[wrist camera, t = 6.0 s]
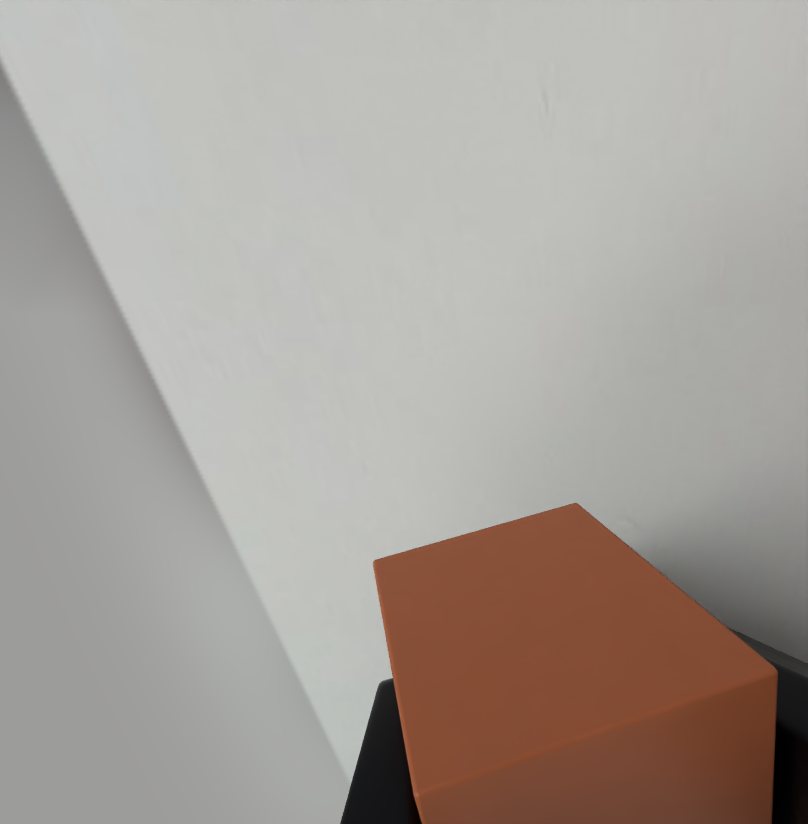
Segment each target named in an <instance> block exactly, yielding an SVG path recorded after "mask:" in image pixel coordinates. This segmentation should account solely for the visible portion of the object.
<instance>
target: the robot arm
mask: <svg viewBox="0 0 808 824" xmlns="http://www.w3.org/2000/svg"><path fill="white" fill-rule="evenodd" d="M762 657H763V656H762ZM763 658H764V659H766V660H767V661H768V662H769V663H770V664H772V665H773V666H774V667H775V668H776V670H777V672H778V688H777V712H776V737H775V761H774V786H773V810H772V824H808V677H807V676H805V675H803V674H801V673H798V672H796V671H794V670H792V669H789V668H787V667H785V666H783V665H781V664H778V663H776V662H774V661H772V660H769V659H767V658H765V657H763ZM340 824H422V822H421V819H420V815H419V812H418V808H417V805H416V801H415V798H414V794H413V788H412V783H411V777H410V771H409V766H408V760H407V754H406V749H405V743H404V737H403V732H402V726H401V720H400V715H399V709H398V703H397V698H396V692H395V686H394V680H393V678H391V679H388V680H385V681H382V682H381V683H380V684H379V686H378V689H377V692H376V696H375V700H374V703H373V707H372V711H371V714H370V718H369V721H368V725H367V729H366V732H365V736H364V740H363V743H362V747H361V751H360V754H359V758H358V761H357V765H356V769H355V772H354V776H353V780H352V783H351V787H350V791H349V794H348V798H347V802H346V805H345V809H344V812H343V816H342V820H341V823H340Z"/></svg>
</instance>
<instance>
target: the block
mask: <svg viewBox="0 0 808 824" xmlns="http://www.w3.org/2000/svg"><path fill="white" fill-rule="evenodd" d="M373 567H374V573H375V578H376V584H377V590H378V595H379V601H380V607H381V612H382V618H383V624H384V629H385V635H386V641H387V646H388V652H389V658H390V663H391V669H392V675H393V680H394V686H395V692H396V698H397V703H398V709H399V715H400V720H401V726H402V732H403V737H404V743H405V749H406V754H407V760H408V766H409V771H410V777H411V783H412V788H413V794H414V798H415V801H416V805H417V808H418V812H419V815H420V819H421V822H422V824H772V810H773V786H774V761H775V737H776V712H777V688H778V672H777V670H776V668H775V667H774V666H773V665H772V664H770V663H769V662H768V661H767V660H766V659H764V658H763V657H762V656H761V655H760V654H758V653H757V652H756V651H755V650H754V649H752V648H751V647H750V646H749V645H747V644H746V643H745V642H744V641H743V640H741V639H740V638H739V637H738V636H737V635H735V634H734V633H733V632H732V631H731V630H729V629H728V628H727V627H726V626H725V625H723V624H722V623H721V622H720V621H719V620H717V619H716V618H715V617H714V616H713V615H711V614H710V613H709V612H708V611H706V610H705V609H704V608H703V607H702V606H700V605H699V604H698V603H697V602H696V601H694V600H693V599H692V598H691V597H690V596H688V595H687V594H686V593H685V592H684V591H682V590H681V589H680V588H679V587H678V586H676V585H675V584H674V583H673V582H671V581H670V580H669V579H668V578H667V577H665V576H664V575H663V574H662V573H661V572H659V571H658V570H657V569H656V568H655V567H653V566H652V565H651V564H650V563H649V562H647V561H646V560H645V559H644V558H643V557H641V556H640V555H639V554H638V553H637V552H635V551H634V550H633V549H632V548H630V547H629V546H628V545H627V544H626V543H624V542H623V541H622V540H621V539H620V538H618V537H617V536H616V535H615V534H614V533H612V532H611V531H610V530H609V529H608V528H606V527H605V526H604V525H603V524H602V523H600V522H599V521H598V520H597V519H595V518H594V517H593V516H592V515H591V514H589V513H588V512H587V511H586V510H585V509H583V508H582V507H581V506H580V505H579V504H577V503H573V504H569V505H566V506H562V507H559V508H555V509H552V510H548V511H545V512H541V513H538V514H534V515H531V516H527V517H524V518H520V519H517V520H513V521H510V522H506V523H503V524H499V525H496V526H492V527H489V528H485V529H482V530H478V531H475V532H471V533H468V534H464V535H461V536H457V537H454V538H450V539H447V540H443V541H440V542H436V543H433V544H429V545H426V546H422V547H419V548H415V549H412V550H408V551H405V552H401V553H398V554H394V555H391V556H387V557H384V558H380V559H377V560H375V561H374V562H373Z"/></svg>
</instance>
